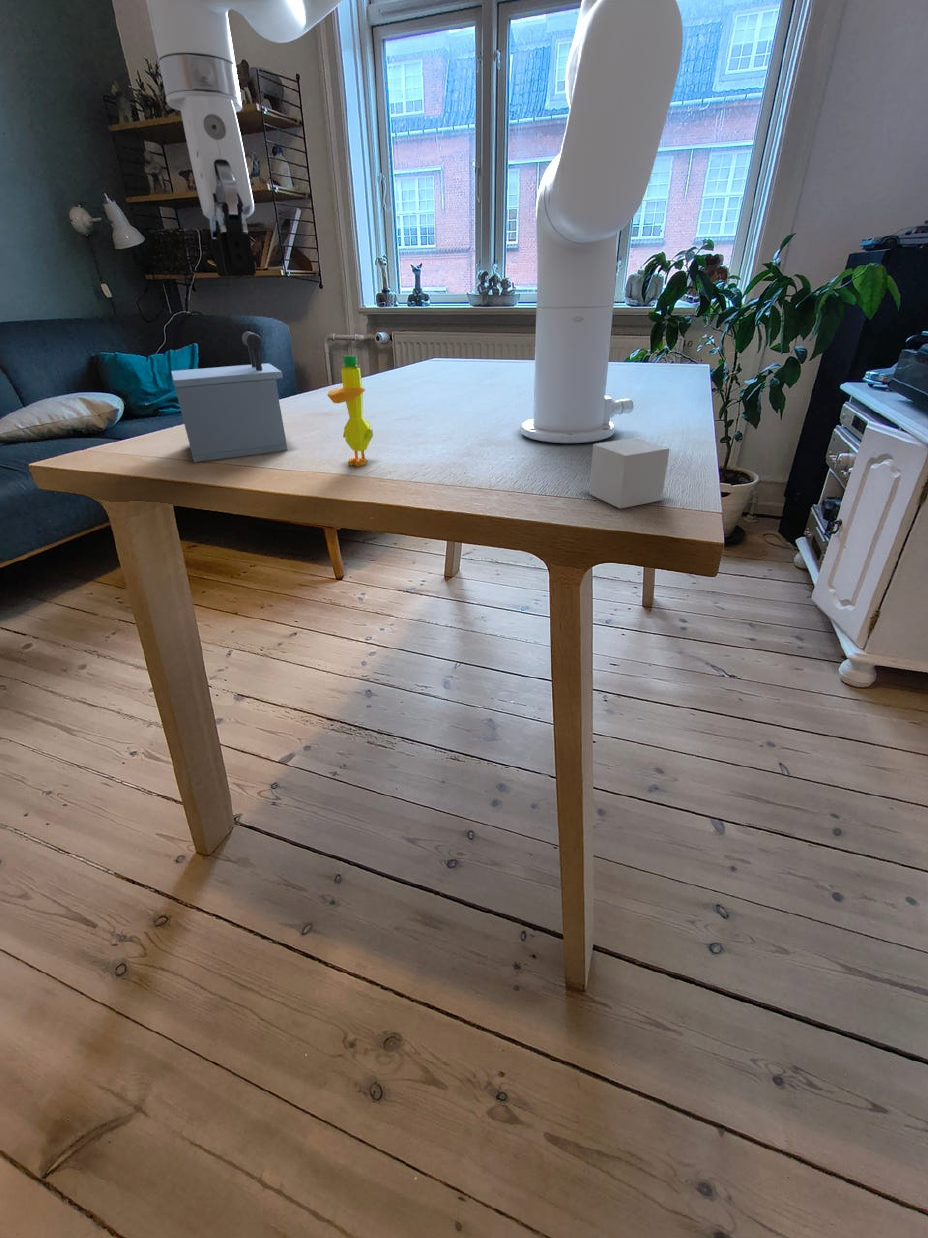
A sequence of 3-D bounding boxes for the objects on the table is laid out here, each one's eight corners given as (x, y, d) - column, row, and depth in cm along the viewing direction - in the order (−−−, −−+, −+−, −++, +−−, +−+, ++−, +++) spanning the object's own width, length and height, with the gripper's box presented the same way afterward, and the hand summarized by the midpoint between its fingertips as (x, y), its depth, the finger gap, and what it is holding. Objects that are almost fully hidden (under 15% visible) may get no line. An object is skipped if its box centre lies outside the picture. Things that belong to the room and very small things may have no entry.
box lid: (270, 369, 82) (263, 329, 79) (282, 377, 74) (275, 333, 72) (172, 377, 77) (161, 335, 75) (175, 387, 70) (163, 340, 67)
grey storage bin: (275, 435, 86) (263, 370, 81) (287, 450, 78) (275, 379, 74) (190, 445, 82) (172, 377, 77) (194, 462, 74) (175, 387, 70)
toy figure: (352, 473, 68) (338, 360, 62) (327, 469, 70) (311, 359, 64) (385, 458, 73) (375, 352, 67) (361, 455, 75) (350, 352, 69)
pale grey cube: (629, 486, 61) (634, 437, 59) (662, 500, 57) (669, 448, 55) (588, 494, 59) (592, 443, 57) (620, 509, 56) (625, 455, 53)
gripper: (250, 69, 57) (280, 274, 66) (230, 110, 71) (257, 276, 79) (165, 60, 54) (209, 276, 63) (162, 105, 68) (198, 277, 77)
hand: (236, 275), depth 71 cm, fingers open, 9 cm apart
